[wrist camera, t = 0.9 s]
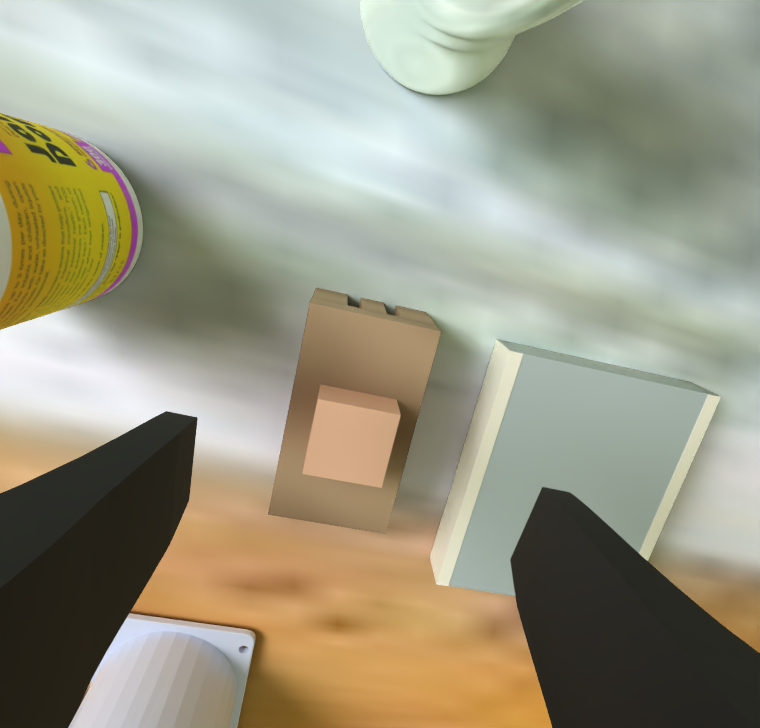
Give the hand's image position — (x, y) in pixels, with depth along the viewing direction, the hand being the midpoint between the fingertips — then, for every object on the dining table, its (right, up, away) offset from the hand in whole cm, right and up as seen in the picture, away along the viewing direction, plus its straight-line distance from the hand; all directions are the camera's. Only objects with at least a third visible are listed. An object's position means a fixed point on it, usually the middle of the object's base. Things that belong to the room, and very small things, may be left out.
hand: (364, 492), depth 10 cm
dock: (+9, -3, +15) cm, 18 cm away
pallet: (-1, +1, +13) cm, 13 cm away
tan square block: (-1, 0, +9) cm, 9 cm away
